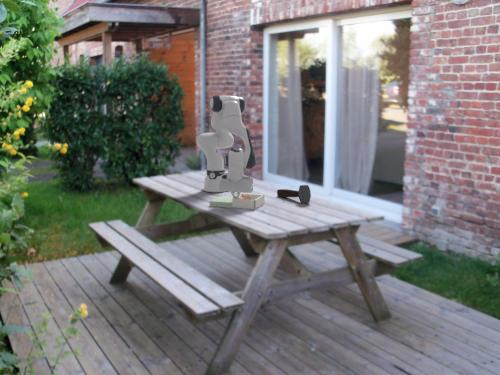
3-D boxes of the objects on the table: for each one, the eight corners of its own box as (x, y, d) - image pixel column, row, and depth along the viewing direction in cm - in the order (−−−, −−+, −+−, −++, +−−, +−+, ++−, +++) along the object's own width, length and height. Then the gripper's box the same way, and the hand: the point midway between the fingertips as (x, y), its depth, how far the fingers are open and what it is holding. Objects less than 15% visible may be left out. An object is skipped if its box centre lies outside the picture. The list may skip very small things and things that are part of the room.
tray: (242, 202, 355) (242, 193, 354) (264, 203, 350) (264, 194, 350) (232, 207, 338) (232, 198, 337) (255, 209, 334) (255, 200, 333)
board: (220, 200, 359) (220, 195, 358) (242, 202, 355) (242, 197, 354) (209, 206, 342) (209, 201, 341) (232, 207, 338) (232, 202, 337)
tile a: (244, 193, 350) (248, 194, 350) (244, 201, 351) (248, 202, 350) (242, 195, 346) (246, 195, 345) (242, 203, 347) (246, 203, 346)
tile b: (238, 199, 344) (241, 196, 343) (245, 204, 343) (247, 201, 342) (236, 201, 339) (238, 198, 338) (243, 206, 338) (245, 202, 337)
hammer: (276, 202, 374) (304, 204, 349) (275, 184, 374) (303, 185, 348) (282, 201, 377) (311, 203, 351) (281, 184, 376) (310, 184, 351)
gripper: (254, 176, 339) (254, 199, 341) (221, 174, 345) (221, 197, 347) (251, 177, 333) (251, 201, 335) (217, 175, 339) (217, 199, 341)
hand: (235, 199), depth 341 cm, fingers closed
